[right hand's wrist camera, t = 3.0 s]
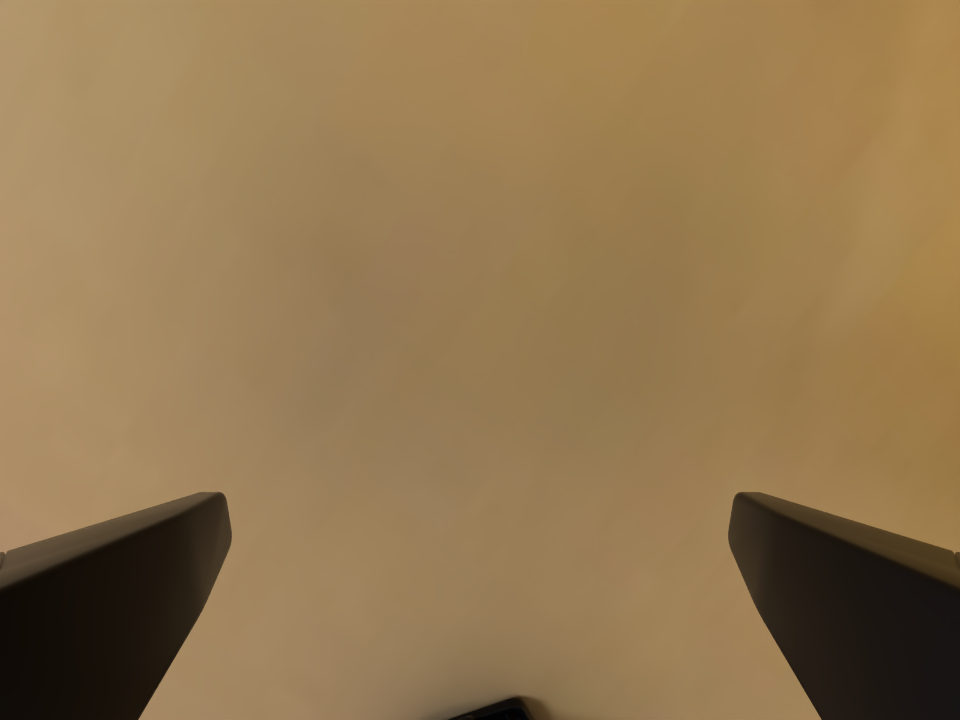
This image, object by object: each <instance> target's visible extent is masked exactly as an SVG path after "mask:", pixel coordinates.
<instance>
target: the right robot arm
mask: <svg viewBox="0 0 960 720" xmlns="http://www.w3.org/2000/svg"><path fill="white" fill-rule="evenodd" d="M231 539H232V531H231V525H230V518H229V512H228V506H227V500H226V497H225V495H224V494H223V493H221V492H200V493H196V494H193V495H190V496H187V497H183V498H180V499H177V500H173V501H170V502H167V503H164V504H160V505H157V506H154V507H150V508H147V509H144V510H141V511H137V512H134V513H131V514H127V515H124V516H121V517H118V518H114V519H111V520H108V521H104V522H101V523H98V524H95V525H91V526H88V527H85V528H82V529H78V530H75V531H72V532H68V533H65V534H62V535H59V536H55V537H52V538H49V539H45V540H42V541H39V542H36V543H32V544H29V545H26V546H22V547H19V548H16V549H13V550H9V551H7V553H6V555H5V553H4V552H0V720H138V719H139V718H140V716H141V714H142V712H143V711H144V709H145V707H146V706H147V704H148V702H149V701H150V699H151V697H152V696H153V694H154V692H155V690H156V689H157V687H158V685H159V684H160V682H161V680H162V679H163V677H164V675H165V673H166V672H167V670H168V668H169V667H170V665H171V663H172V662H173V660H174V658H175V657H176V655H177V653H178V651H179V650H180V648H181V646H182V645H183V643H184V641H185V640H186V638H187V636H188V634H189V633H190V631H191V629H192V628H193V626H194V624H195V623H196V621H197V619H198V617H199V615H200V614H201V612H202V610H203V608H204V606H205V604H206V602H207V599H208V597H209V595H210V593H211V590H212V588H213V586H214V583H215V581H216V579H217V576H218V574H219V572H220V569H221V567H222V565H223V562H224V560H225V558H226V555H227V553H228V551H229V548H230V545H231ZM728 539H729V545H730V548H731V551H732V553H733V555H734V558H735V560H736V562H737V565H738V567H739V569H740V572H741V574H742V576H743V579H744V581H745V583H746V586H747V588H748V590H749V593H750V595H751V597H752V600H753V602H754V604H755V606H756V608H757V610H758V612H759V614H760V615H761V617H762V619H763V621H764V623H765V624H766V626H767V628H768V629H769V631H770V633H771V634H772V636H773V638H774V640H775V641H776V643H777V645H778V646H779V648H780V650H781V651H782V653H783V655H784V657H785V658H786V660H787V662H788V663H789V665H790V667H791V668H792V670H793V672H794V673H795V675H796V677H797V679H798V680H799V682H800V684H801V685H802V687H803V689H804V690H805V692H806V694H807V696H808V697H809V699H810V701H811V702H812V704H813V706H814V707H815V709H816V711H817V712H818V714H819V716H820V718H821V719H822V720H960V552H956V553H955V555H954V552H953V551H951V550H947V549H944V548H941V547H938V546H934V545H931V544H928V543H924V542H921V541H918V540H915V539H911V538H908V537H905V536H901V535H898V534H895V533H892V532H888V531H885V530H882V529H878V528H875V527H872V526H869V525H865V524H862V523H859V522H856V521H852V520H849V519H846V518H842V517H839V516H836V515H833V514H829V513H826V512H823V511H819V510H816V509H813V508H810V507H806V506H803V505H800V504H796V503H793V502H790V501H787V500H783V499H780V498H777V497H773V496H770V495H767V494H764V493H760V492H739V493H737V494H736V495H735V497H734V500H733V506H732V512H731V518H730V525H729V531H728ZM512 712H513V713H512ZM449 720H533V718H532V717H531V715H530V713H529V711H528V710H527V708H526V706H525V704H524V703H523V702H522V701H520V700H518V699H508V700H505V701H502V702H499V703H496V704H493V705H490V706H487V707H484V708H481V709H478V710H475V711H472V712H469V713H467V714H464V715H461V716H458V717H455V718H452V719H449Z"/></svg>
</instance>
